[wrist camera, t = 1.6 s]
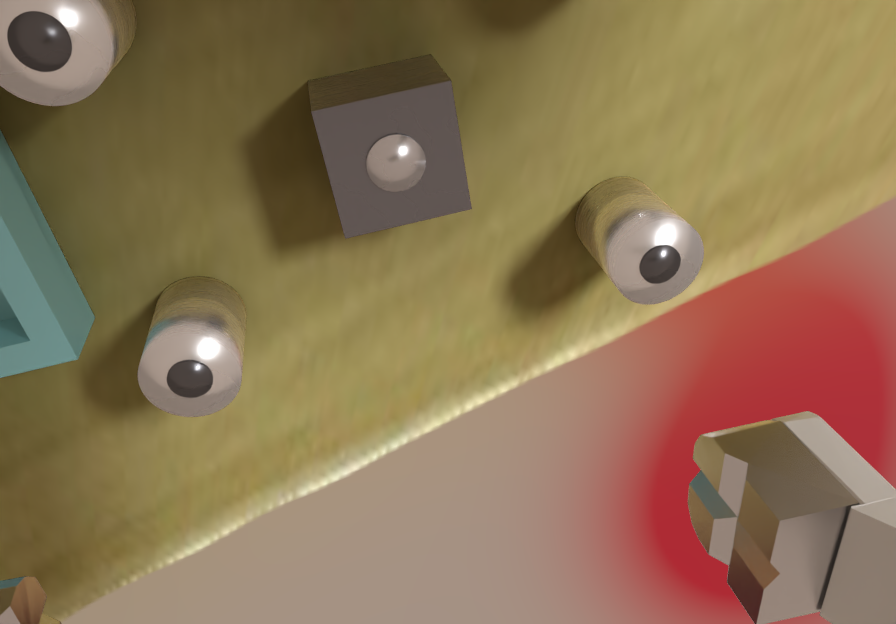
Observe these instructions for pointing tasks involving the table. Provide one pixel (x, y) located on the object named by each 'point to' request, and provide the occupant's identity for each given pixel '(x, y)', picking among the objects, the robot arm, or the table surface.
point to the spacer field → (216, 303)
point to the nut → (390, 144)
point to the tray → (34, 283)
